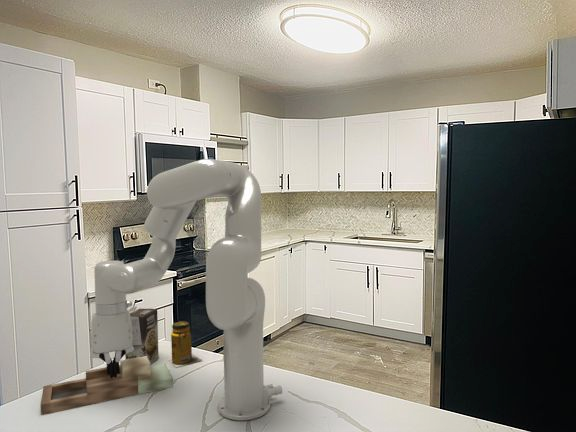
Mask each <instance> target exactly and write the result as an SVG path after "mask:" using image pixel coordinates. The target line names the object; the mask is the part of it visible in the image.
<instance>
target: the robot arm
mask: <svg viewBox="0 0 576 432" xmlns="http://www.w3.org/2000/svg"><path fill="white" fill-rule="evenodd" d="M146 195H147V196H146V197H147V200H148V202H149V203H150V205H151V206H152V208H151V210H150V211H149V214H148V216H147V217H146V219H145V221H144V229H145V231H146V232H147V234H149V235H150V236H151V237H152V241H151V244H150V247H149V249H148V251H147V253H145V256H144V257H143V259H138V260H135V261H131V262H128V263H124V262H123V261H122V260H104V261H103V260H102V261H99V262H97V263H96V264H95V266H94V271H93V273H94V298H95V299H94V300H95V301H94V303H95V313H93V314H92V318H91V323H90V325H91V326H90V347H91V349H90V354H89V355H90V356H89V357H90V358H91V359H100V360H102V361H103V362H105V364H106V367H107V374H110V378H113V376H114V377H117V373H118V372H119V365H120V360H122V358H123V357H125V354H126V353H129V352H132V351H133V350H134V347H133V335H132V324H131V318H130V313H131V312H130V310H129V309H128V308H130V307H132V306H133V301H129V300H127V294H134V293H137V292H139V291H142V290H144V289H146V288H149V287H153V286H154V285H157V284H158V283H159V282H160V281H161V280H162V278H163V277H164V276H165V274H166V272H167V271H168V269H169V267H170V266H171V263H172V262H173V259H174V257H175V254H176V253H175V252H176V247H177V245H176V244H177V241H176V239H177V237H178V235H179V233H180V231H181V230H182V228H183V226H184V224H185V222H186V220H187V218H189V215H190V214H191V211H192V210H193V208H194V207H195V205H196V203H197V201H201V200H204V199H208V198H218V197H219V198H220V197H221V198H222V197H224V198H226V199H227V206H226V209H225V210H226V211H225V214H224V221H225V222H224V224H225V226H224V228H225V230H224V237H222V238H220V239H219V240H217V241H216V242H214V243H213V244H212V245H211V247H210V249H209V250H208V253H207V257H206V263H205V308H206V313H207V316H208V319H209V321H210V322H211V323H212V325H213V326H214V327H216V328H217V329H219V330H223V335H222V337H223V341H222V342H223V384H224V385H223V386H224V396H223V397H222V398H221V399H220V400H219V402H218V403H217V404H218V405H217V409H218V412H219V414H220V415H221V416H222V417H224V418H226V419H229V420H233V421H251V420H255V419H257V418H260V417H262V416H264V415H265V414H267V413H268V412H269V410H270V408H271V400H270V399H271V398H272V396H277V395H282V394H283V387H282V385H278V386H274V385H273V383H270V384H267V385H264V383H265V381H264V320H265V311H266V310H265V309H266V295H265V292H264V289H263V286H262V285H261V284H260V283H259V282H258V281H257V280H256V279H254V278H251V277H248V274H249V273H251V272H252V271H254V270H255V269H257V267H258V266H259V265H260V263H261V260H262V191H261V186H260V183H259V182H258V179H257V178H256V176H255V175H254V174H253V173H252V172H251V171H250V170H249V169H247V168H246V167H244V166H243V165H241V164H239V163H236V162H233V161H227V160H221V159H212V158H203V159H199V160H195V161H193V162H190V163H186V164H183V165H180V166H178V167H175V168H172V169H168V170H165V171H163V172H160V173H158V174H157V175H155V176H154V177H152V179H151V180H150V181H149V183H148V185H147V189H146ZM113 352H114V357H113V358H111V356H110V355H111V354H110V353H113Z"/></svg>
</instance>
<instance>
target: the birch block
mask: <svg viewBox="0 0 576 432" xmlns="http://www.w3.org/2000/svg"><path fill="white" fill-rule="evenodd" d="M119 365H120V371H121V378H126V377H131V376H136V375H137V376H138V380H143V379H148V378H151V376H150V366H151V365H150V362H149V360H148V358H147V356H143V357H137V358H132V359H126V360H125V359H120V361H119Z"/></svg>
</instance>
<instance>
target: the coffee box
mask: <svg viewBox="0 0 576 432" xmlns="http://www.w3.org/2000/svg"><path fill="white" fill-rule="evenodd" d="M129 313H130V318H131V324H132V335H133V347H134V350H133V351H132V352H129V353H126V354H125V355H124V360H126V359H132V358H137V357H143V356H147V358H148V360H149V362H150V366H152V364H153V363H155V362H156V361H158V360H159V359H160V357H159V353H160V352H159V323H158V308H138V309H136V310H134V311H132V312H129Z"/></svg>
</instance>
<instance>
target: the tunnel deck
mask: <svg viewBox="0 0 576 432" xmlns="http://www.w3.org/2000/svg"><path fill="white" fill-rule="evenodd" d="M150 376H151V378H148V379H143V380H138V376H137V375H136V376H131V377H126V378H121V371H120V364H119V372H118V373H117V377H114V376H113V378H110V374H107V366H105V367H100V368H95V369H89V370H85V377H84V378H81V379H74V380H70V381H63V382H60V383H59V382H58V383H54V384H47V385H44V386H43V388H42V392H41V393H42V394H41V402H40V415H41V416H44V415H47V414H53V413H56V412H57V413H58V412H61V411H66V410H71V409H76V408H80V407H81V408H82V407H85V406H89V405H90V406H92V405H94V404H95V405H96V404H99V403H104V402H109V401H113V400H118V399H119V400H120V399H122V398H123V399H124V398H127V397H133V396H136V395H137V396H138V395H142V394H146V393H152V392H156V391H161V390H165V389H170V388H174V377H173V375H172V373H171V372H170V370H169V368H168V366H167V364H166V363H160V364H156V365H150Z"/></svg>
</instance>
